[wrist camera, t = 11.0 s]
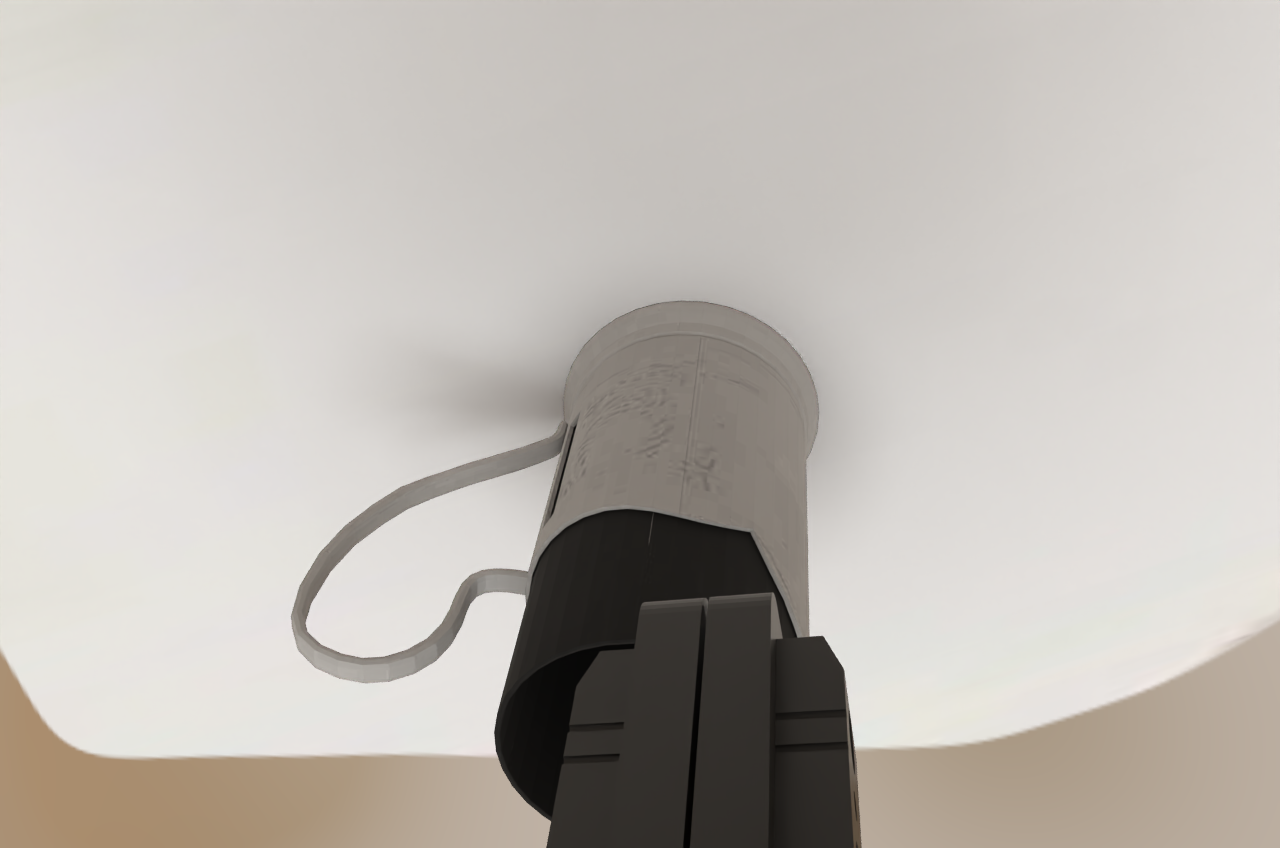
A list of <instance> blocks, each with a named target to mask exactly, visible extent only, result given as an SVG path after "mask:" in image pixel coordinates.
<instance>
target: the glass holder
mask: <svg viewBox="0 0 1280 848" xmlns="http://www.w3.org/2000/svg"><path fill="white" fill-rule="evenodd" d="M563 404H564V421H562V422H561V423H560V424H559V426H558V429H557V431H556V433H555V434H554V435H552V436H551V437H549V438H546V439H544V440H541V441H538V442H536V443H533V444H530V445H527V446H524V447H521V448H518V449H514V450H511V451H508V452H505V453H501V454H498V455H495V456H491V457H488V458H484V459H481V460H477V461H474V462H471V463H467V464H464V465H462V466H459V467H456V468H453V469H450V470H447V471H444V472H441V473H438V474H435V475H432V476H429V477H426V478H423V479H420V480H418V481H415V482H413V483H410V484H408V485H405V486H402V487H400V488H398V489H397V490H395V491H394V492H392V493H391V494H389V495H387V496H386V497H384V498H383V499H381V500H379V501H378V502H376V503H375V504H373V505H372V506H370V507H369V508H368V509H366V510H365V511H364V512H363V513H361V514H360V515H359V516H357V517H356V518H355V519H353V520H352V521H351V522H349V523H348V524H347V525H345V526H344V527H343V529H342V530H341V531H340V532H339V533H338V534H337V535H336V536H335V537H334V538H333V539H332V540H331V541H330V542H329V544H328V545H327V546H326V547H325V548H324V549H323V550H322V551H321V552H320V553H319V555H318V557H317V558H316V560H315V562H314V563H313V565H312V566H311V568H310V570H309V571H308V573H307V575H306V576H305V578H304V580H303V581H302V583H301V585H300V587H299V590H298V594H297V597H296V600H295V604H294V607H293V611H292V614H291V620H292V629H293V633H294V637H295V641H296V644H297V648H298V650H299V652H300V653H301V654H302V655H303V656H304V657H305V658H306V659H307V660H308V661H309V662H310V663H311V664H312V665H313V666H314V667H315V668H317V669H319V670H321V671H324V672H326V673H328V674H330V675H332V676H335V677H337V678H339V679H344V680H350V681H355V682H360V683H375V682H390V681H393V680H396V679H399V678H403V677H406V676H409V675H412V674H415V673H416V672H418V671H420V670H422V669H423V668H425V667H427V666H428V665H430V664H432V663H433V662H435V661H436V660H437V659H438V658H439V657H440V656H441V655H442V654H443V653H444V652H445V651H446V650H447V649H448V648H449V646H450V645H451V644H452V642H453V641H454V639H455V637H456V635H457V633H458V631H459V630H460V628H461V626H462V624H463V621H464V618H465V615H466V612H467V610H468V608H469V606H470V604H471V602H472V601H473V600H474V599H475V598H476V597H477V596H479V595H482V594H484V593H489V592H509V593H516V594H522V595H526V608H525V611H524V615H523V619H522V623H521V626H520V630H519V634H518V638H517V641H516V645H515V649H514V653H513V657H512V660H511V664H510V668H509V672H508V675H507V679H506V683H505V687H504V690H503V694H502V698H501V702H500V706H499V709H498V713H497V719H496V725H495V731H494V734H495V745H496V752H497V755H498V758H499V761H500V764H501V767H502V769H503V771H504V773H505V774H506V776H507V778H508V779H509V781H510V782H511V784H512V786H513V787H514V788H515V789H516V791H517V792H518V793H519V794H520V795H521V796H522V797H523V799H524V800H525V801H526V802H527V803H528V804H529V805H531V806H532V807H533V808H534V809H535V810H537V811H538V812H539V813H540V814H541V815H543V816H544V817H546V818H547V819H549V820H550V821H551V820H552V815H553V810H554V804H555V799H556V793H557V788H558V783H559V777H560V772H561V766H562V764H564V757H563V756H564V750H565V745H566V739H567V734H568V733H569V732H570V726H569V723H570V718H571V712H572V707H573V702H574V696H575V691H576V686H577V685H578V683H579V682H580V680H581V679H582V677H583V676H584V674H585V673H586V671H587V670H588V669H589V667H590V666H591V664H592V663H593V661H594V660H595V658H596V657H597V655H598V654H599V652H600V651H610V650H625V649H634V648H635V641H636V633H637V626H638V619H639V612H640V608H641V605H642V603H644V602H654V601H668V600H681V599H695V598H706V599H707V600H708V601H709V598H710V597H717V596H731V595H744V594H758V593H771V592H773V593H774V595H775V598H776V603H777V608H778V614H779V620H780V626H781V632H782V638H783V639H784V638H799V637H809V588H808V534H807V481H806V459H807V458H808V456H809V454H810V452H811V450H812V447H813V443H814V440H815V437H816V434H817V428H818V418H819V408H818V399H817V392H816V389H815V386H814V383H813V380H812V377H811V374H810V373H809V371H808V369H807V367H806V366H805V364H804V362H803V360H802V359H801V357H800V356H799V354H798V353H797V352H796V351H795V350H794V349H793V347H792V346H791V345H790V344H789V343H788V342H787V340H785V339H784V338H783V337H782V336H781V335H779V334H778V333H777V332H776V331H774V330H773V329H772V328H771V327H770V326H768V325H766V324H764V323H763V322H761V321H759V320H757V319H756V318H754V317H752V316H750V315H748V314H745V313H743V312H740V311H737V310H735V309H732V308H729V307H726V306H721V305H716V304H711V303H706V302H691V301H677V302H667V303H658V304H654V305H651V306H647V307H643V308H640V309H636V310H634V311H632V312H630V313H627V314H625V315H623V316H621V317H619V318H617V319H615V320H614V321H612V322H611V323H609V324H608V325H606V326H605V327H604V328H602V329H601V330H599V331H598V332H597V333H596V334H595V335H594V336H593V337H592V338H591V339H590V340H589V341H588V342H587V343H586V344H585V345H584V347H583V348H582V350H581V351H580V353H579V354H578V356H577V357H576V359H575V361H574V362H573V365H572V367H571V370H570V372H569V375H568V377H567V380H566V386H565V392H564V398H563ZM560 452H561V454H560V457H559V461H558V465H557V468H556V472H555V476H554V479H553V483H552V487H551V490H550V494H549V498H548V501H547V505H546V509H545V512H544V516H543V520H542V523H541V527H540V531H539V534H538V538H537V542H536V545H535V549H534V553H533V556H532V560H531V564H530V567H529V571H528V572H527V571H521V570H514V569H488V570H481V571H479V572H477V573H474V574H472V575H470V576H469V577H468V578H467V579H466V580H465V581H464V582H463V583H462V584H461V586H460V588H459V590H458V592H457V593H456V595H455V598H454V600H453V602H452V605H451V607H450V610H449V612H448V613H447V615H446V617H445V619H444V620H443V622H442V624H441V625H440V626H439V627H438V628H437V629H436V630H435V631H434V632H433V633H432V634H431V635H430V636H429V637H428V638H427V639H425V640H424V641H422V642H420V643H418V644H417V645H415V646H413V647H411V648H409V649H408V650H405V651H402V652H399V653H395V654H392V655H389V656H385V657H373V658H359V657H355V656H350V655H345V654H341V653H339V652H337V651H334V650H332V649H330V648H327V647H325V646H323V645H321V644H320V643H319V642H318V641H316V640H315V639H314V638H313V637H312V636H311V635H310V634H309V633H308V632H307V628H306V624H305V622H306V619H307V616H308V612H309V609H310V605H311V603H312V601H313V599H314V598H315V596H316V595H317V593H318V591H319V590H320V588H321V586H322V585H323V583H324V582H325V580H326V578H327V577H328V575H329V573H330V572H331V571H332V569H333V568H334V567H335V566H336V565H337V564H338V563H339V562H340V561H341V560H342V559H343V558H344V557H345V555H346V554H347V553H348V552H349V551H350V550H351V549H352V548H353V547H354V546H355V545H356V544H357V543H359V542H360V541H361V540H363V539H364V538H365V537H367V536H368V535H369V534H371V533H372V532H373V531H375V530H376V529H377V528H379V527H380V526H381V525H383V524H384V523H386V522H387V521H389V520H391V519H392V518H394V517H396V516H397V515H399V514H400V513H402V512H404V511H405V510H407V509H409V508H411V507H414V506H416V505H418V504H421V503H423V502H425V501H428V500H430V499H432V498H435V497H438V496H440V495H443V494H446V493H449V492H451V491H454V490H457V489H460V488H463V487H466V486H469V485H471V484H475V483H478V482H482V481H485V480H489V479H492V478H495V477H499V476H502V475H505V474H508V473H512V472H515V471H518V470H521V469H524V468H527V467H530V466H533V465H535V464H538V463H541V462H543V461H546V460H548V459H551V458H553V457H555V456H557V455H558V454H559V453H560Z"/></svg>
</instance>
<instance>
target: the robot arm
mask: <svg viewBox="0 0 1280 848" xmlns="http://www.w3.org/2000/svg"><path fill="white" fill-rule="evenodd" d="M569 726H570V732H569V733H568V734H567V739H566V745H565V750H564V756H563V757H564V764H562V766H561V772H560V777H559V783H558V788H557V793H556V799H555V804H554V810H553V815H552V820H551V826H550V832H549V836H548V842H547V847H546V848H861V832H860V831H861V830H860V815H859V798H858V781H857V765H856V755H855V747H854V740H853V733H852V725H851V718H850V710H849V703H848V696H847V688H846V681H845V673H844V669H843V667H842V666H841V664H840V662H839V661H838V659H837V658H836V656H835V654H834V653H833V651H832V650H831V648H830V646H829V645H828V643H827V642H826V640H825V638H824V637H823V636H814V637H799V638H784V639H783V638H782V632H781V626H780V620H779V614H778V608H777V603H776V598H775V595H774V593H773V592H771V593H758V594H744V595H731V596H717V597H710V598H709V601H708V600H707V599H706V598H695V599H681V600H668V601H654V602H644V603H642V605H641V608H640V612H639V619H638V626H637V633H636V641H635V648H634V649H625V650H610V651H600V652H599V654H598V655H597V657H596V658H595V660H594V661H593V663H592V664H591V666H590V667H589V669H588V670H587V671H586V673H585V674H584V676H583V677H582V679H581V680H580V682H579V683H578V685H577V686H576V691H575V696H574V702H573V707H572V712H571V718H570V723H569Z"/></svg>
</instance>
